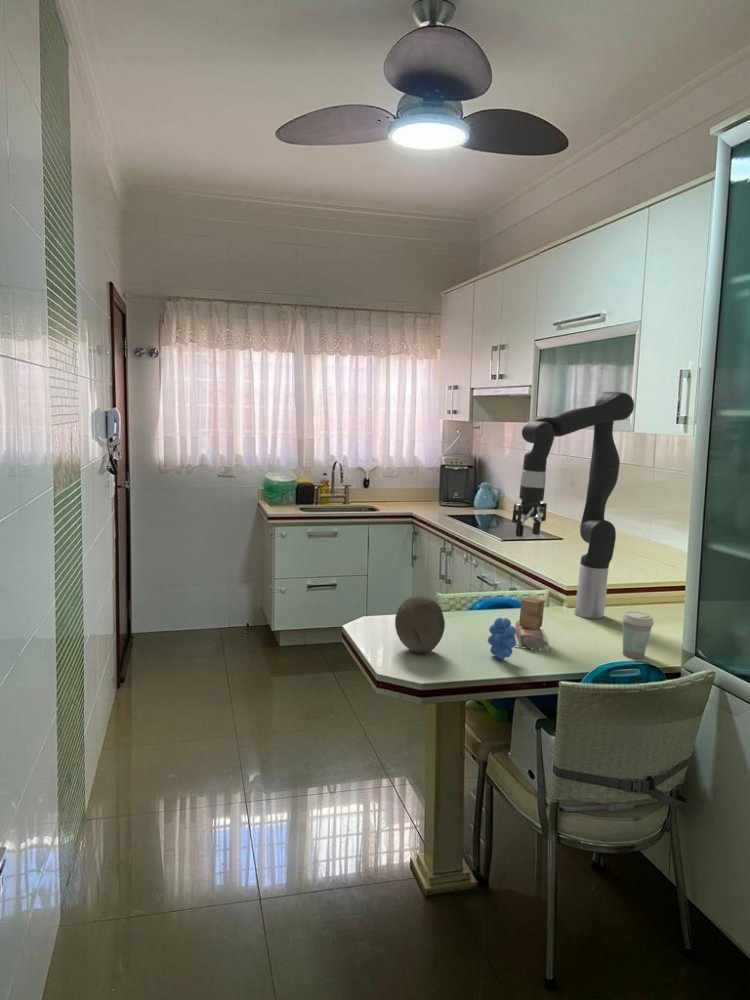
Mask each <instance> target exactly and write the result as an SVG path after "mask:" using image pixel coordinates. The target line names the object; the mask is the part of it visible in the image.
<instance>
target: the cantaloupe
mask: <svg viewBox="0 0 750 1000" xmlns="http://www.w3.org/2000/svg"><path fill="white" fill-rule="evenodd" d="M394 618H395V620H394V621H395V623H394V625H395V626H394V627H395V631H396V634H397V636H398V640H400V642H401V643H402V645H404V647H406V648H407V649H408V650H409V651H412V652H413V653H417V654H426V653H429V652H432V651H433V650H434V649H435V648H436V647H437V646H438V644H439V643H440V642H441V640H442V637H443V635H444V633H445V626H446V624H445V623H446V622H445V617H444V614H443V611H442V608H441V607H440V605H439V603H438V602H437V601H436V600H435V599H434V598H433V599H432V598H430V597H425V596H419V595H417V596H412V597H408V598H407V599H405V600H403V602H402V603H401V604H400V605H399V607H398V608H397V611H396V615H395V617H394Z"/></svg>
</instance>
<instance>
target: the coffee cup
mask: <svg viewBox="0 0 750 1000" xmlns="http://www.w3.org/2000/svg"><path fill="white" fill-rule="evenodd" d="M621 620H622V654H623V656H625V657H628V658H631V659H638V660H639V659H644V658H645V654H646V650H647V646H648V643H649V639H650V635H651V631H652V626H654V619H653V616H652V615H651V614H648V613H646V612H641V611H634V610H628V611H625V612H624V614H623V616H622V618H621Z"/></svg>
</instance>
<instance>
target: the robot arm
mask: <svg viewBox="0 0 750 1000" xmlns="http://www.w3.org/2000/svg"><path fill="white" fill-rule="evenodd" d="M634 407H635V402H634V399H633V397H632V396H631V395H630V394H628V393H626V392H623V391H603V392H601V393H600V394H599V395H598V396H597V398H596V400H595V404H594V405H591V406H586V407H585V406H584V407H579V408H574V409H569V410H565V411H563V412H560V413H557V414H555V415H552V416H548V417H542V418H536V419H533V420H530V421H528V422H527V423H525V425H523V427H522V430H521V436H522V438H523V441H525V442H527V443H529V444H533V446H532V447H531V448H532V449H531V450H530V451H526V453H524V457H523V464H522V472H521V473H522V474H521V478H520V487H519V488H520V489H519V499H520V500H521V501H520V503H514V505H513V511H512V519H511V522H512V523H514V524H516V527H515V528H516V529H515V536H516V537H517V538H518V537H519V538H523V537H524V528H525V524H526V522H527V520H529V518H532V520H533V524H532V534H533V535H535V536H539V535H540V533H541V525H542V523H543V522H546V520H547V508H548V507H547V505H548V504H547V502H543V501H544V499H545V490H546V488H545V487H546V479H547V478H546V470H547V464H548V463H547V461H548V457H549V454H550V451H551V450H552V449H551V448H553V447H552V446H553V443H554V440H555V437H556V438H557V437H563V436H566V435H569V434H572V433H575V432H577V431H581V430H583V429H586V428H589V427H590V428H591V427H592V426H593V441H592V448H591V449H592V451H591V459H590V465H589V474H588V483H587V489H586V491H587V492H586V497H585V498H586V499H585V505H584V509H583V512H582V513H583V514H582V518H581V522H580V528H579V533H580V537H581V539H582V540H583V541H584V542H586V543H587V544H588V548H587V553H586V554H583V555H582V556H581V558H580V563H579V564H580V565H579V572H578V582H577V590H576V598H575V607H574V608H575V609H574V614H575V615H577V616H579V617H581V618H586V619H595V620H596V619H597V620H599V619H602V618H603V617H604V616H605V608H606V602H607V601H606V600H607V592H608V587H607V586H608V574H609V569H610V568H609V567H610V563H611V561H612V559H613V557H614V552H615V551H614V550H615V543H616V539H617V537H616V536H617V533H616V527H615V525H614V524H613V523H612V522H611V521H609V520H606V519H605V513H606V512H605V511H606V506H607V502H608V500H609V498H610V496H611V494H612V493H613V490H614V489H615V487H616V485H617V483H618V478H619V474H620V473H619V471H620V466H621V465H620V463H621V462H620V455H619V452H618V450H617V445H616V444H615V440H614V435H613V434H614V433H613V431H614V430H613V429H614V422H615V421H623V420H626V419H628V418H629V417H630V416H631V415H632V413H633V411H634Z"/></svg>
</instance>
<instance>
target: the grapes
mask: <svg viewBox="0 0 750 1000" xmlns="http://www.w3.org/2000/svg"><path fill="white" fill-rule="evenodd" d="M514 627H515V626H513V625H512V621H511V620H510V619H509V618H507V617H506V618H505V617H504V618H502V617H497V618H496V619H495V621H494V623H493V624H491V625H490V627H489V629H488V630H489V633H490V635H489V636H488V639H487V642H488V644H489V645H490V646H491V647H490V649H489V651H490V653H491V654H492V655H494V656H495V657H496V659H497V660H499V659H500V661H503V660H504V659H506V658H510V657H511V655H512V654H513V648H515V645H516V640H515V635H514V634H515V632H516V630H515V628H514Z"/></svg>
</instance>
